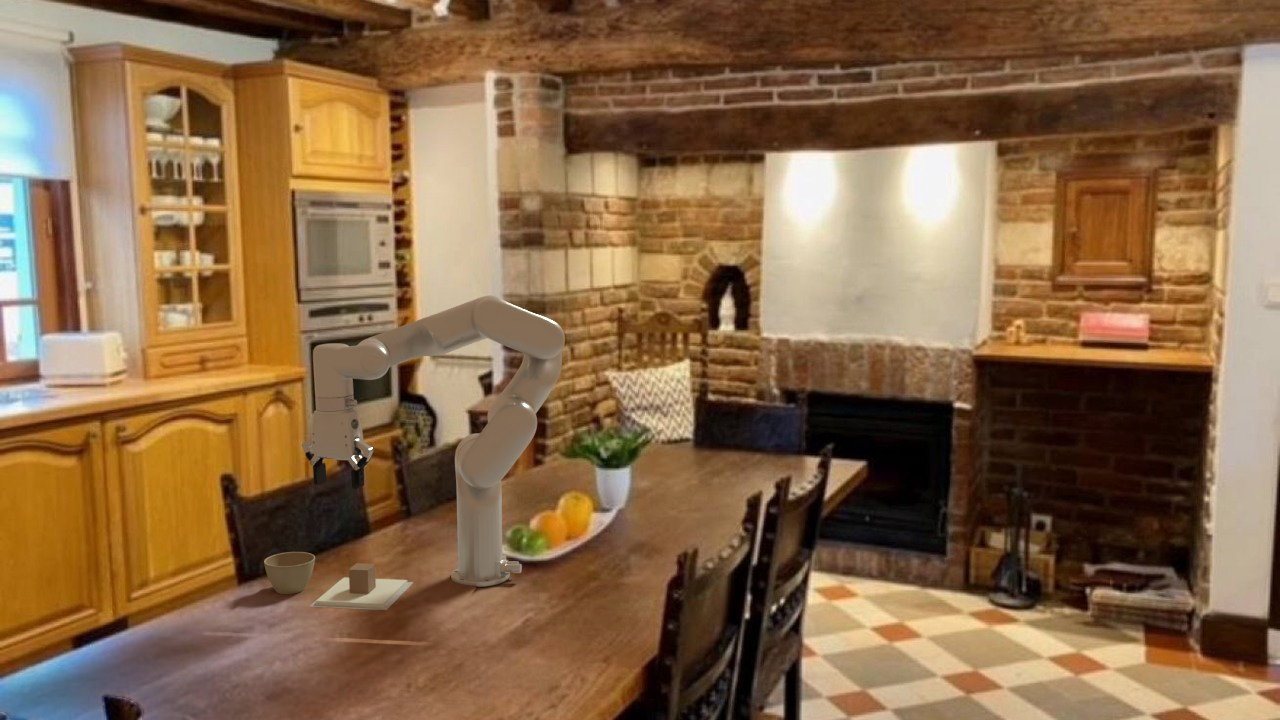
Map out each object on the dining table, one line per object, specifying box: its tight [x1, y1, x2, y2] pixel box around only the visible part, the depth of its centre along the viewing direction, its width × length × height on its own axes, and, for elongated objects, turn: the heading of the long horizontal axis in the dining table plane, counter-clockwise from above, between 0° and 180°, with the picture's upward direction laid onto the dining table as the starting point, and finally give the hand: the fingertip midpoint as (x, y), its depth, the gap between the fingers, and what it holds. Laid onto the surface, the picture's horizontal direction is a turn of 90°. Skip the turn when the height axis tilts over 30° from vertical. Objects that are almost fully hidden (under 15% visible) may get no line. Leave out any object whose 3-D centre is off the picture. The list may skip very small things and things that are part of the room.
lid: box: [315, 562, 408, 608], centre depth 208 cm, size 14×14×6 cm
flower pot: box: [263, 551, 316, 595], centre depth 211 cm, size 10×10×7 cm
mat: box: [308, 581, 414, 611], centre depth 209 cm, size 16×16×1 cm
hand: (339, 485), depth 210 cm, fingers open, 9 cm apart
